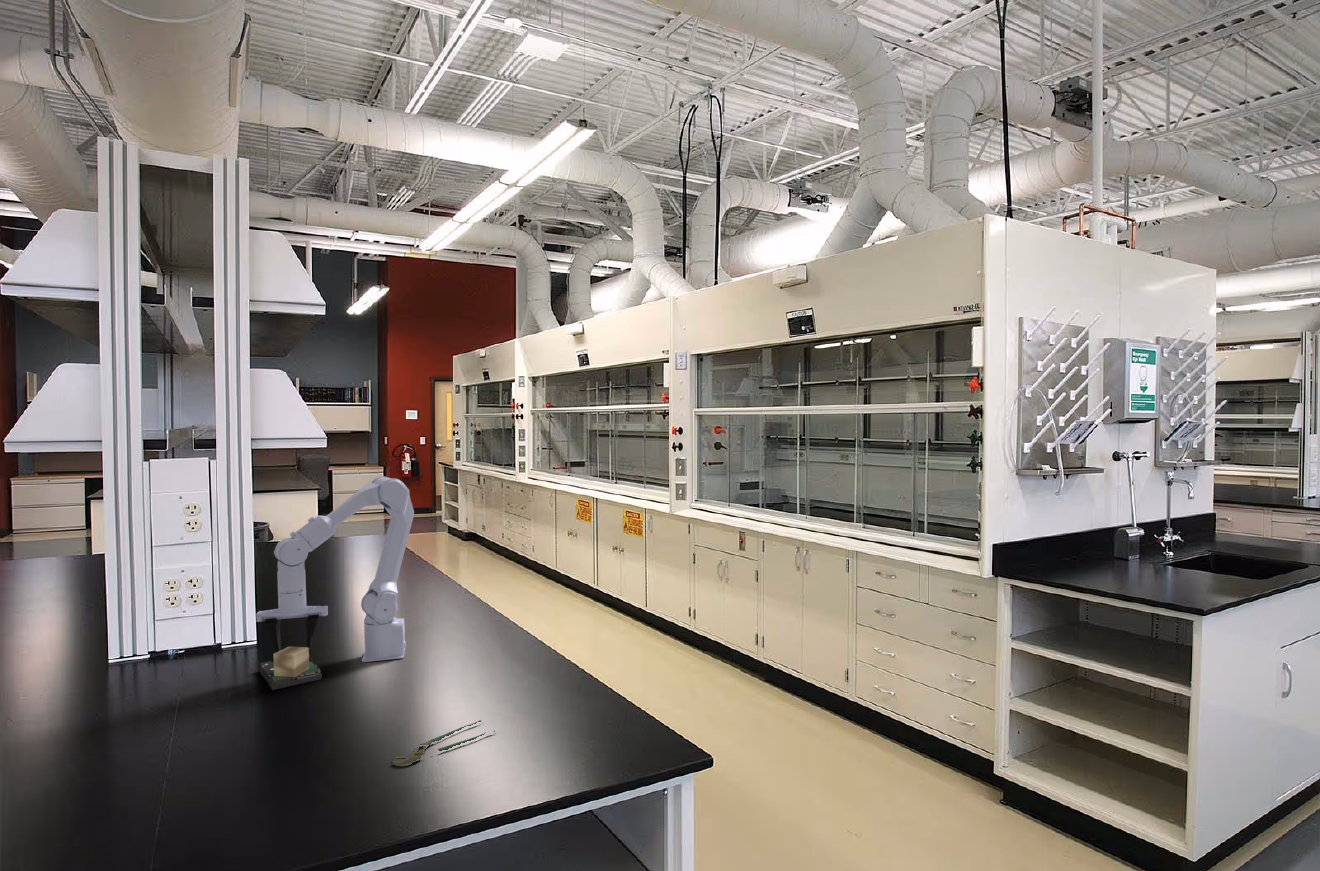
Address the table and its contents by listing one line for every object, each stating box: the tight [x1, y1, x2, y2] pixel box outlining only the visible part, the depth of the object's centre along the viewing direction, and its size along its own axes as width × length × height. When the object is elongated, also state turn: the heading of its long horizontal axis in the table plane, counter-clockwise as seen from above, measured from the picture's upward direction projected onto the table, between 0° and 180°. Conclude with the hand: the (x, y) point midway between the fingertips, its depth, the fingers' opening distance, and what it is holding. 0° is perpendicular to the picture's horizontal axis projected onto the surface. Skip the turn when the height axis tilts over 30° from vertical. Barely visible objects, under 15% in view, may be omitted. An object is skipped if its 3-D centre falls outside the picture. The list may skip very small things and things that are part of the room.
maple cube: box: [273, 646, 310, 677], centre depth 161 cm, size 5×5×5 cm
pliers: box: [392, 719, 486, 764], centre depth 130 cm, size 20×6×1 cm, turn 136°
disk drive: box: [259, 656, 323, 691], centre depth 165 cm, size 10×3×15 cm
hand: (293, 649), depth 165 cm, fingers open, 6 cm apart
